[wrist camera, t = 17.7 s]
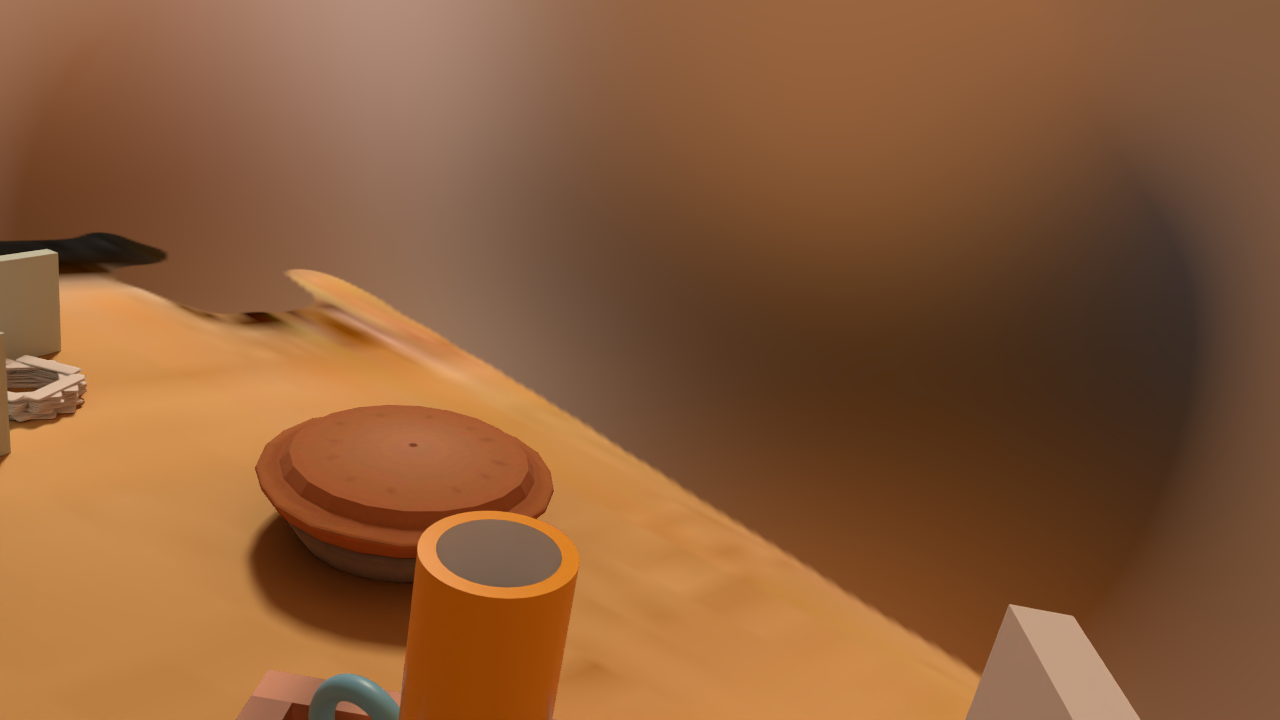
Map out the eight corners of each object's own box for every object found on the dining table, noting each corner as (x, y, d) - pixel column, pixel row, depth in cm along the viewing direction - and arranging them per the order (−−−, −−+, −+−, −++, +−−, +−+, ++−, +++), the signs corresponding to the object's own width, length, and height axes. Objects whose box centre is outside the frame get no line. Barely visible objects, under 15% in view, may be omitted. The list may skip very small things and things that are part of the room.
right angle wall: (-5, 466, 52) (-13, 336, 49) (-144, 401, 56) (-158, 278, 53) (178, 404, 62) (179, 295, 60) (50, 353, 66) (46, 249, 64)
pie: (596, 576, 51) (611, 494, 49) (300, 639, 42) (306, 541, 41) (476, 450, 63) (485, 380, 61) (224, 478, 54) (227, 397, 52)
